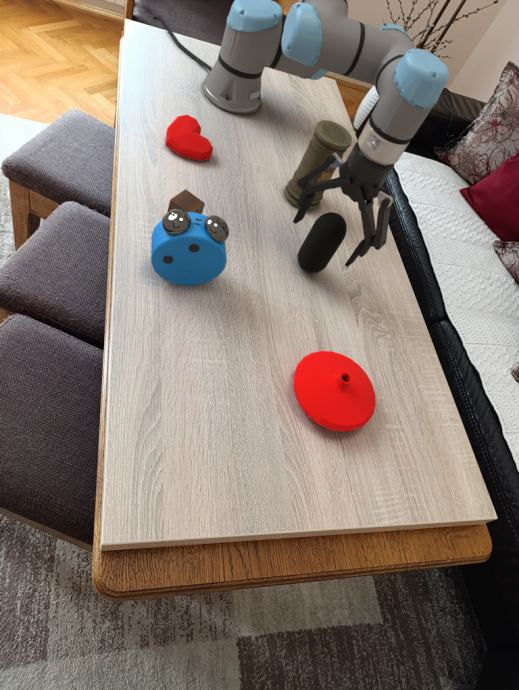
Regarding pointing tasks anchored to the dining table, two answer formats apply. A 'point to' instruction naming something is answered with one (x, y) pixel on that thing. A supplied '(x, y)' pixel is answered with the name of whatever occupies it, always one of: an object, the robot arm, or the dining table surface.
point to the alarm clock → (189, 247)
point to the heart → (188, 139)
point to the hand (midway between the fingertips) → (323, 241)
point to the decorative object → (322, 242)
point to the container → (318, 159)
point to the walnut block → (186, 203)
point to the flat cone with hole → (334, 391)
